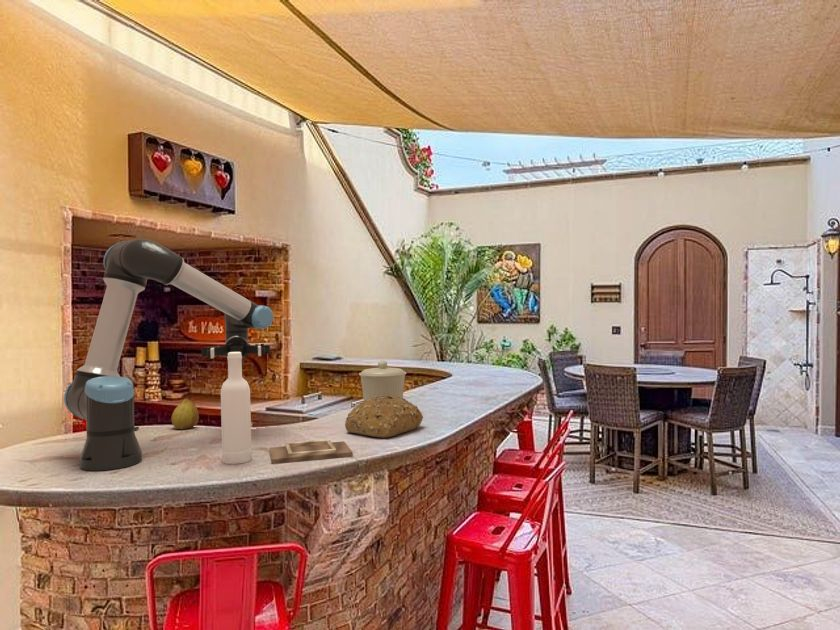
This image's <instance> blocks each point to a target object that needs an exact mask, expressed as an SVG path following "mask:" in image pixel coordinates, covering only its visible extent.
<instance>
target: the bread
mask: <svg viewBox="0 0 840 630" xmlns="http://www.w3.org/2000/svg"><path fill="white" fill-rule="evenodd" d="M423 418H424V416H423V414H422V412H421V411H420V409H419V408H418V406H417V405H415V404H413V403H412V402H410V401H409V400H406V398H404V397H403V398H400V397H399V396H397V397H396V396H394V395H393V396H391V395H377V396H375V397H371V398H369V399H367V400H365V401H364V400H363V401H360V402H359V403H358V404H357V405H356V406H355V407H353V408H352V410H350V412H349V413H348V414H347V417H346V419H345V422H344V423H345V424H344V426H345V430H346V432H348V433H351V434H356V435H362V436H369V437H373V438H382V439H386V438H387V439H388V438H391V437H395V436H398V435H399V434H403V433H406V432H410V431H413V430H415V429H417V428H418V427H419V426H420V425H421V424H422V421H423Z"/></svg>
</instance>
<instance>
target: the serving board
mask: <svg viewBox="0 0 840 630" xmlns="http://www.w3.org/2000/svg"><path fill="white" fill-rule="evenodd" d="M353 454H354V453H353V451H352V449H351V448H350V447H349V446H348V444H347V442H345V441H342V440H341V441H333V442H332V441H331V439H321V440H309V441H297V442H285V443H284V445H283V446H273V447H269V456H270V457H269V458H270V461H271V465H273V464H274V465H275V464H285V463H286V464H287V463H294V462H297V463H298V462H308V461H317V460H319V461H320V460H326V459H327V460H329V459H339V458H340V459H341V458H350V457H353Z"/></svg>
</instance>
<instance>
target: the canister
mask: <svg viewBox="0 0 840 630" xmlns="http://www.w3.org/2000/svg"><path fill="white" fill-rule="evenodd" d="M377 366H378V367H372V368H371V367H370V368H366V369H362V371H361V372H359V373H358V374H359V377H360V381H361V389H362V390H361V391H362V397H363V401H365V400H367V399H369V398H371V397H375V396H377V395H391V396H393V395H394V396H396V397H397V396H399V397H400V398H404V388H405V379H406V378H405V376H406V374H407V372H406V371H405V370H404V369H402V368H399V367H387V366H388V363H387V361H386V360H380V361H378V363H377Z"/></svg>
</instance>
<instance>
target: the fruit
mask: <svg viewBox="0 0 840 630" xmlns="http://www.w3.org/2000/svg"><path fill="white" fill-rule="evenodd" d="M193 396H194V393H192V394H190V396H189V398H184V399H183V400H181V402H180V403H179V404H178V405H177V406H176V407H175V409H174V410H173V411H172V414H171V418H170V419H171V424H172V426H173V427H174V428H175V429H177V430H188V429H191V428H193V427H194V426H197V424H198V423H199V420H200V415H199V411H198V408H197V406H196V404H195V402H194V401H193V400H191V398H192V397H193Z"/></svg>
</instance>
